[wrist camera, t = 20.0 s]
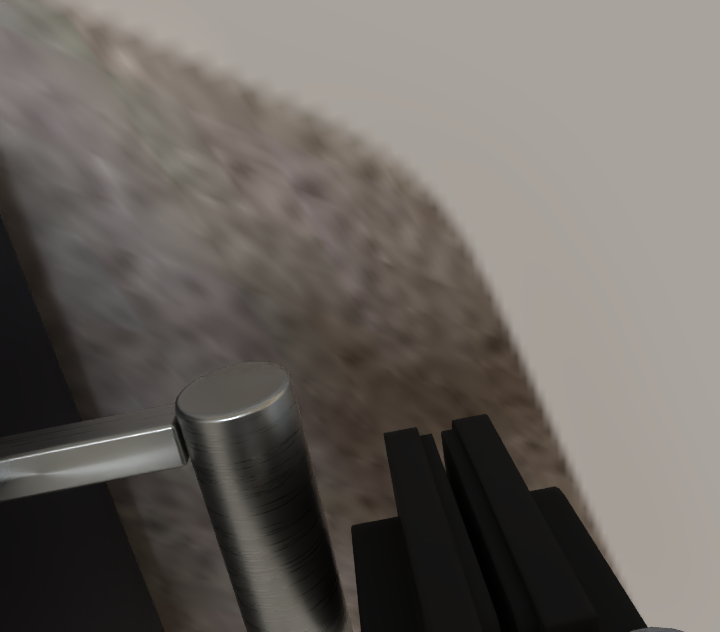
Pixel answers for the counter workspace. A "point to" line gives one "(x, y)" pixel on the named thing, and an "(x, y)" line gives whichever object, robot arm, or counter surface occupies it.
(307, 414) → the counter surface
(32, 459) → the drawer
